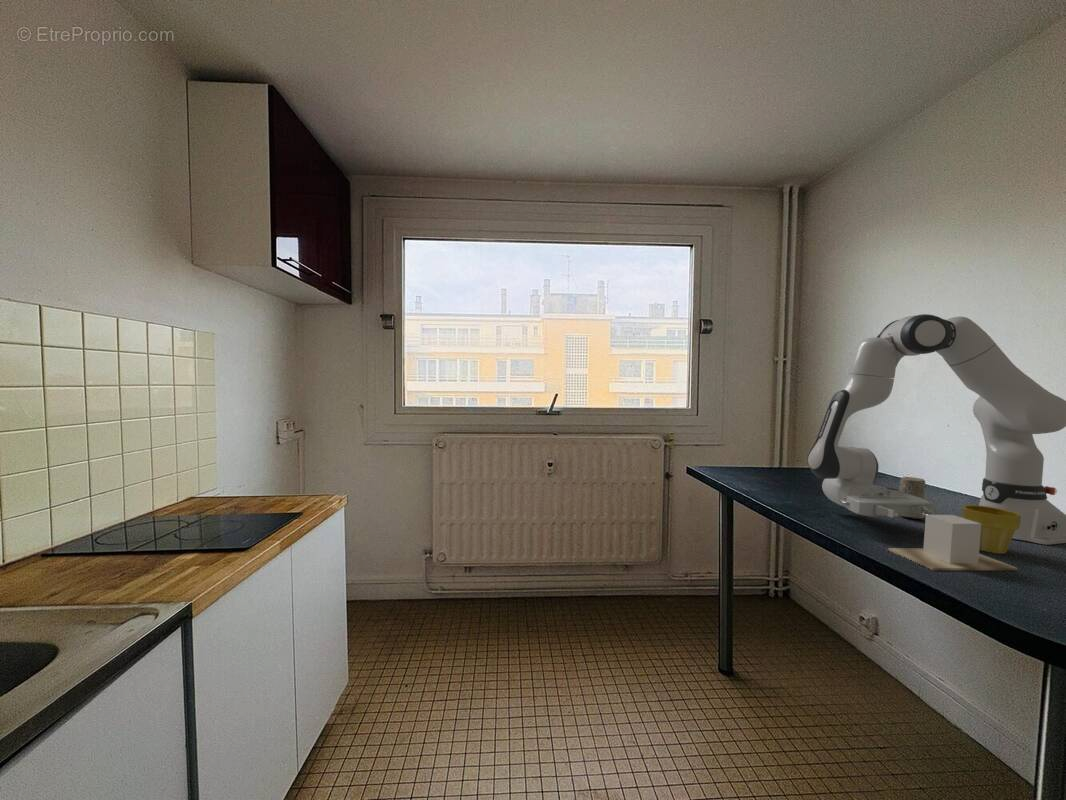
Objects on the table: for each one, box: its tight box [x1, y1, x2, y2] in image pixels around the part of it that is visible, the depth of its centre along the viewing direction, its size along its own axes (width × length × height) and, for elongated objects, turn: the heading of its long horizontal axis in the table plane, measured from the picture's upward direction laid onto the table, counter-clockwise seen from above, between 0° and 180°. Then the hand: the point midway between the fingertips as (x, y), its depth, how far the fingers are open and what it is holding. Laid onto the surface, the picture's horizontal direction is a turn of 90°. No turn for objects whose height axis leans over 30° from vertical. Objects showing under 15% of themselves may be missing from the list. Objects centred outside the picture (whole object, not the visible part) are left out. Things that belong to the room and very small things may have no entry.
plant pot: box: [961, 504, 1021, 555], centre depth 120 cm, size 10×10×10 cm
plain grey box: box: [922, 514, 981, 563], centre depth 112 cm, size 7×7×9 cm
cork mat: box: [887, 547, 1019, 571], centre depth 112 cm, size 20×12×1 cm, turn 94°
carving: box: [899, 476, 926, 520], centre depth 146 cm, size 6×8×12 cm
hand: (913, 514), depth 122 cm, fingers open, 8 cm apart
